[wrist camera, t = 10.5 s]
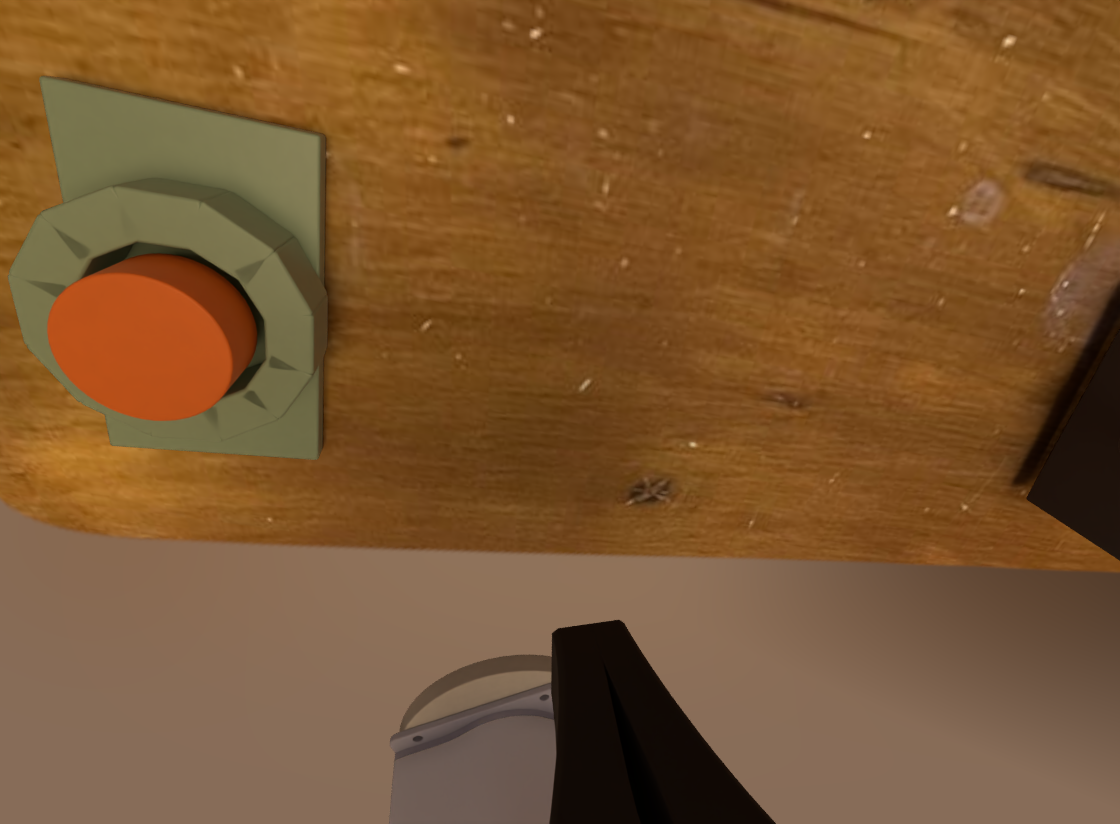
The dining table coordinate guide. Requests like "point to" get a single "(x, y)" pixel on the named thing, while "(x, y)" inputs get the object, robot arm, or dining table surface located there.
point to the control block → (191, 249)
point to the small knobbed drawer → (1088, 462)
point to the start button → (153, 336)
